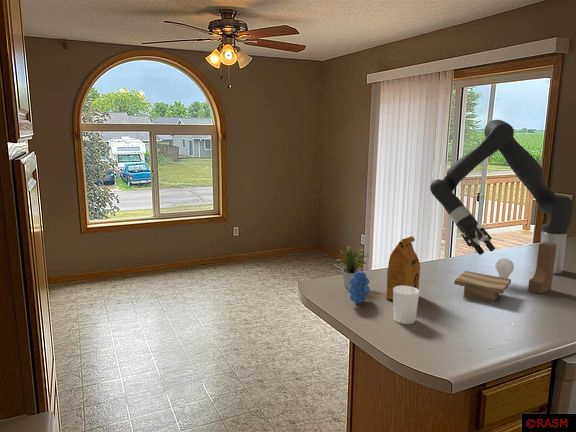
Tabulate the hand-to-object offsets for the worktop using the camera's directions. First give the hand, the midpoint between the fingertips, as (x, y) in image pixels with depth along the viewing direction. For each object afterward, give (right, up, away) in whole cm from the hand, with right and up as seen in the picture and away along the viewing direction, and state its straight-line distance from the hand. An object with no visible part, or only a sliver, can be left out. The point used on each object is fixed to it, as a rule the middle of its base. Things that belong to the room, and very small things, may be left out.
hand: (487, 252), depth 172 cm
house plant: (-55, -13, -6) cm, 57 cm away
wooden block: (+16, -14, -8) cm, 23 cm away
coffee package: (-38, -15, -16) cm, 44 cm away
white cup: (-43, -19, -35) cm, 58 cm away
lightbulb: (+4, -13, -3) cm, 14 cm away
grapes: (-54, -16, -23) cm, 61 cm away
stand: (-9, -15, -14) cm, 22 cm away
